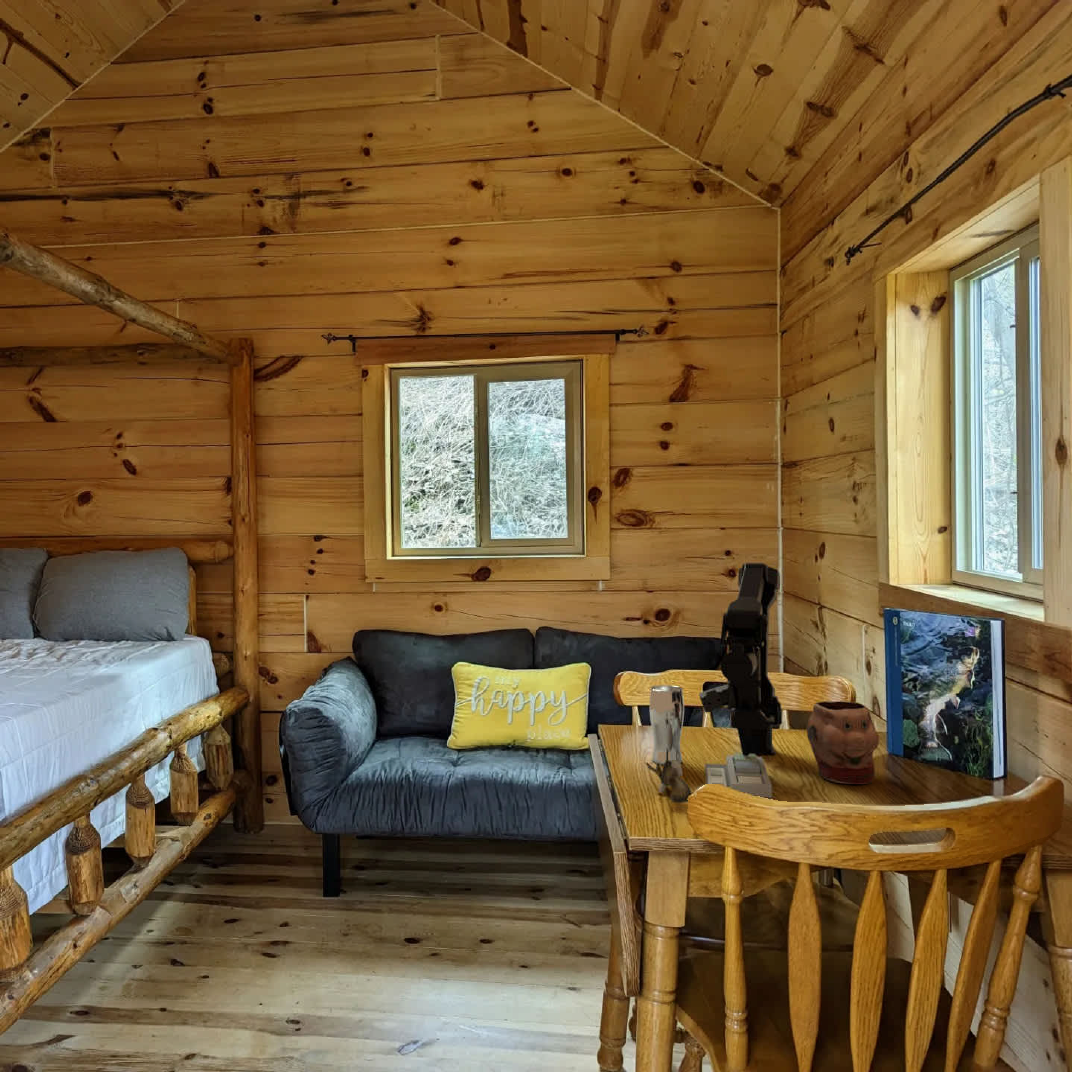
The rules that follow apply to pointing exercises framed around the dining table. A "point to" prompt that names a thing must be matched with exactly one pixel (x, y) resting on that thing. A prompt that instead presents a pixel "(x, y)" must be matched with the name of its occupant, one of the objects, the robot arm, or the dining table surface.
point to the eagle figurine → (672, 780)
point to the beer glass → (666, 722)
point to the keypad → (730, 778)
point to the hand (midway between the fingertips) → (745, 755)
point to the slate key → (747, 767)
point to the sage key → (744, 758)
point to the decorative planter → (843, 741)
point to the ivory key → (749, 779)
